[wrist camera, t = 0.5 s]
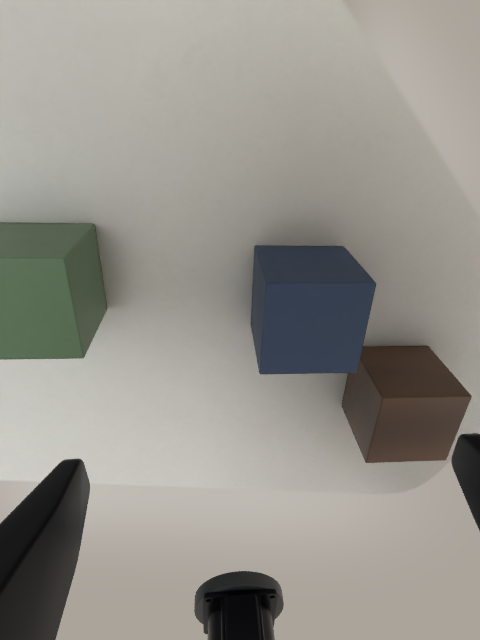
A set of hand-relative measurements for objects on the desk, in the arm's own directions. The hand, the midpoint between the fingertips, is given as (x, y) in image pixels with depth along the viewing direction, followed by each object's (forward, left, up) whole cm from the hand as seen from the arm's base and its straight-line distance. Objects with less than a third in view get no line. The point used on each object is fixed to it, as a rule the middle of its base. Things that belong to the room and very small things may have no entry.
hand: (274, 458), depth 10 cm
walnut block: (-7, -9, -12) cm, 17 cm away
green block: (0, +9, -12) cm, 15 cm away
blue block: (-1, -3, -12) cm, 13 cm away
